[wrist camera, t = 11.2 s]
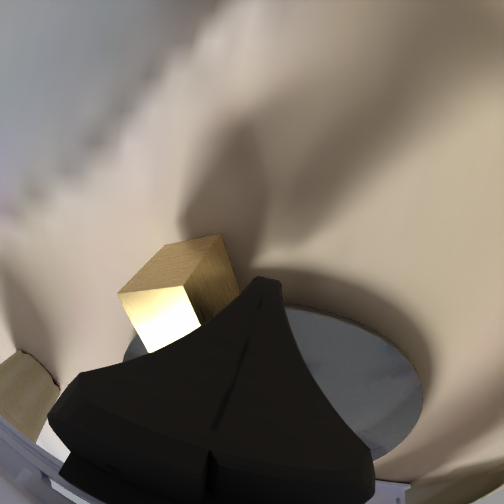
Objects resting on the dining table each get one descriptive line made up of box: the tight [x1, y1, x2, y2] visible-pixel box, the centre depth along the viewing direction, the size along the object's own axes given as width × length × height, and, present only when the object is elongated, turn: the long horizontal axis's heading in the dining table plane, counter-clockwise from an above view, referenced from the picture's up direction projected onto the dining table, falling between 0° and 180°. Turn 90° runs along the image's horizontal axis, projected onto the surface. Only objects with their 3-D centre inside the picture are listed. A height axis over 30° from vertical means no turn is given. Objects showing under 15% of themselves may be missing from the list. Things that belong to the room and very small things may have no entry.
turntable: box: [117, 234, 423, 461], centre depth 13 cm, size 18×21×4 cm
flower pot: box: [0, 350, 60, 443], centre depth 18 cm, size 9×9×9 cm
